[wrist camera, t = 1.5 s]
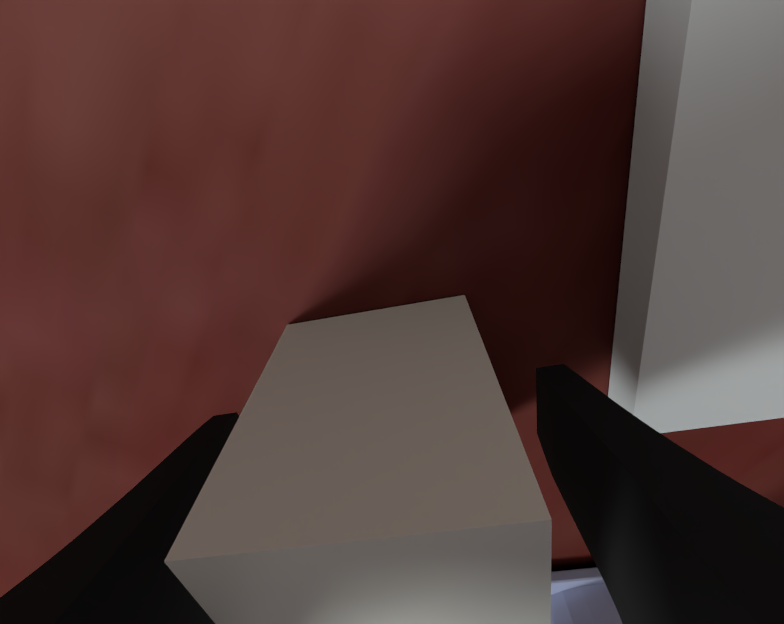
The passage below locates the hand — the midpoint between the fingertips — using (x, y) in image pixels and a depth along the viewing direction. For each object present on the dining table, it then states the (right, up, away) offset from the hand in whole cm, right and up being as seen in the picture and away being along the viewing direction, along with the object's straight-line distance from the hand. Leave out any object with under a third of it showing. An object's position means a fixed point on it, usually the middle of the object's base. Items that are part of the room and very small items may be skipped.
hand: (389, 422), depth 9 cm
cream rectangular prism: (0, +1, +1) cm, 2 cm away
